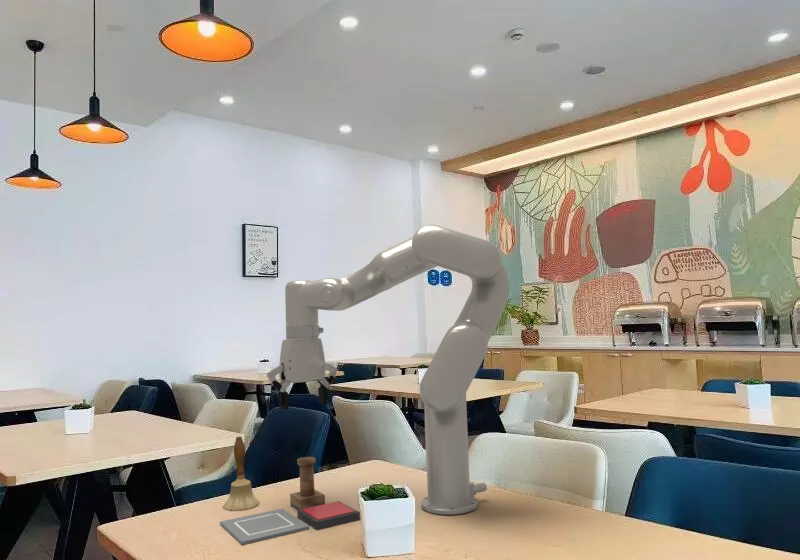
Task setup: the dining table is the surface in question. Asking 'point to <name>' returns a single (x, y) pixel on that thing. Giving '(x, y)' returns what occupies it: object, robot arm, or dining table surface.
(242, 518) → the board
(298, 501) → the stamp
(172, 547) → the dining table surface
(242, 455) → the hand bell
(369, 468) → the dining table surface
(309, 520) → the ink pad
